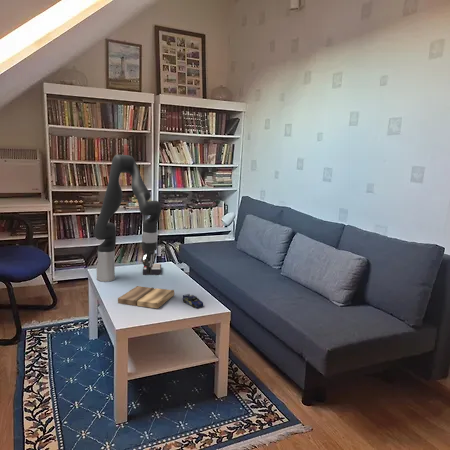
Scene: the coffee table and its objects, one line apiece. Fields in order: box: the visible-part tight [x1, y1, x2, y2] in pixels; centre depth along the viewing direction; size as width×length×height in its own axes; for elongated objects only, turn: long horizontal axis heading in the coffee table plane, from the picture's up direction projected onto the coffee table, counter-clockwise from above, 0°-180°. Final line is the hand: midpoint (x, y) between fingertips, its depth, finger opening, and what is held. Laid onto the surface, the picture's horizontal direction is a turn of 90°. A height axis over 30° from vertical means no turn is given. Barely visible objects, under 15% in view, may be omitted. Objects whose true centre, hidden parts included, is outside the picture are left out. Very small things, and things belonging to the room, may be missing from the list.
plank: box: [136, 287, 175, 309], centre depth 201 cm, size 11×20×3 cm, turn 164°
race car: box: [181, 293, 204, 309], centre depth 199 cm, size 15×7×4 cm, turn 48°
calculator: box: [142, 263, 162, 276], centre depth 250 cm, size 11×4×15 cm
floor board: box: [117, 285, 155, 307], centre depth 204 cm, size 10×20×3 cm, turn 164°
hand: (148, 273), depth 203 cm, fingers closed
